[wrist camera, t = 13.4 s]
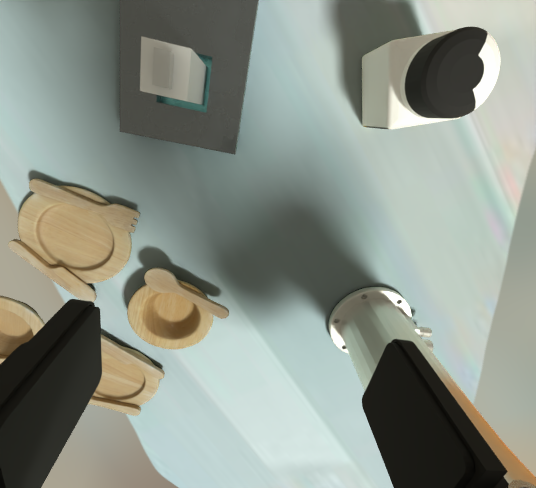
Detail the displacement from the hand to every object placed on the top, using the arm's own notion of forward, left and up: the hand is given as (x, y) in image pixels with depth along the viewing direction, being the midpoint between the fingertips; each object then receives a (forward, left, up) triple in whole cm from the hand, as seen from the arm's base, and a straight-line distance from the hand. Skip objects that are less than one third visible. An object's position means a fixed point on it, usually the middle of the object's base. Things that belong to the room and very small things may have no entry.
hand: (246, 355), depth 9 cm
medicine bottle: (-14, -13, -28) cm, 34 cm away
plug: (+8, -9, -28) cm, 30 cm away
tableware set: (+18, +23, -29) cm, 41 cm away
